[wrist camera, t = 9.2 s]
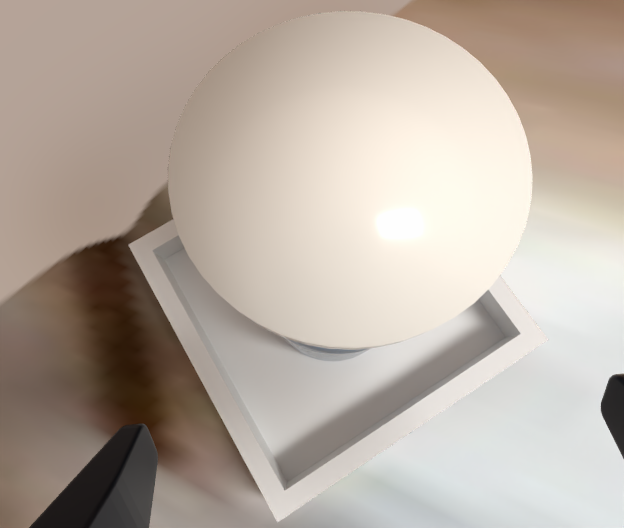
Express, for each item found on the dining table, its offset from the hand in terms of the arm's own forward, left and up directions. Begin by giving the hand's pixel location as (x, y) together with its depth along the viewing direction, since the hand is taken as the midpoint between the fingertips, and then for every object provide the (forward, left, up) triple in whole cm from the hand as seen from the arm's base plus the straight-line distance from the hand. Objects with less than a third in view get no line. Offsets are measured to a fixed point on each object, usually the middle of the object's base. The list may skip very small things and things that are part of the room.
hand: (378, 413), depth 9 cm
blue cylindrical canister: (+4, -2, -11) cm, 12 cm away
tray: (+4, -2, -12) cm, 13 cm away
